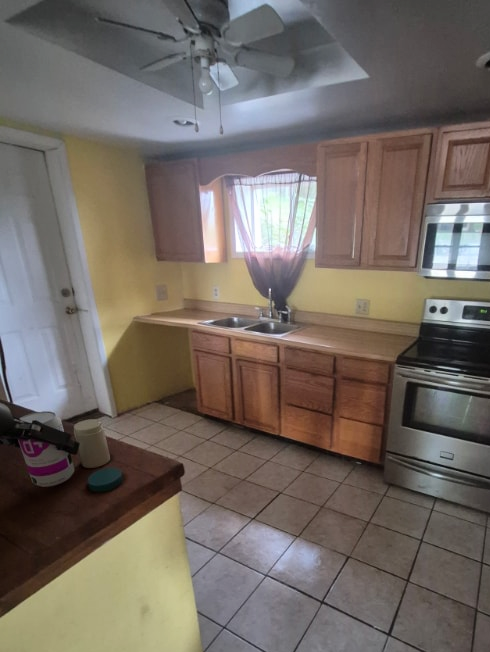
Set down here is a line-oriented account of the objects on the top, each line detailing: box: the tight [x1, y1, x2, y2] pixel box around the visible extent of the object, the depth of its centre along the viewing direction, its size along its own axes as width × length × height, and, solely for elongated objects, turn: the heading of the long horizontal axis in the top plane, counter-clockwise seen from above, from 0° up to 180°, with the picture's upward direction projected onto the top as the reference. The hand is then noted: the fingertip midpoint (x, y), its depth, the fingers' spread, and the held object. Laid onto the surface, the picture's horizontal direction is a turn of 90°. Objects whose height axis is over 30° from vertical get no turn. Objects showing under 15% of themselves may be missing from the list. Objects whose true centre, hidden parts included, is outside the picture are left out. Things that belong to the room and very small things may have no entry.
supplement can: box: [18, 410, 75, 488], centre depth 81 cm, size 8×8×15 cm
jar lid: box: [87, 467, 124, 493], centre depth 85 cm, size 7×7×2 cm
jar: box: [73, 418, 111, 469], centre depth 92 cm, size 6×6×10 cm
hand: (57, 448), depth 85 cm, fingers closed on supplement can, 8 cm apart
